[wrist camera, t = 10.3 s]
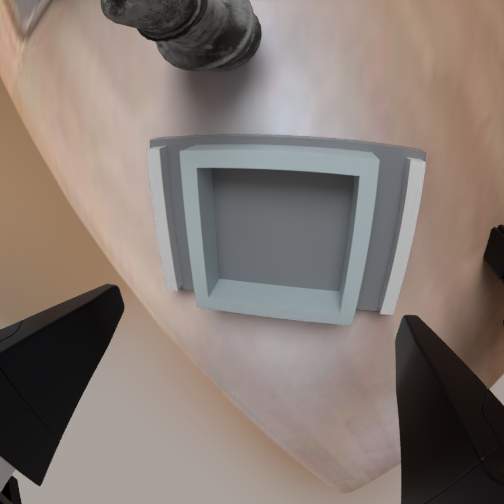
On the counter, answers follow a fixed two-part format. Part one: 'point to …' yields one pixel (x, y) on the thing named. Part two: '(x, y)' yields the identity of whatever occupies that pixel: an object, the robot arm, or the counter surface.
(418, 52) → the counter surface
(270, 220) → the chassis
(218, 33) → the grey stone chess piece
